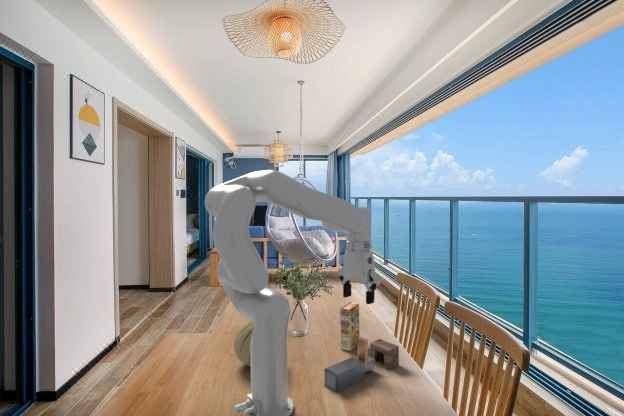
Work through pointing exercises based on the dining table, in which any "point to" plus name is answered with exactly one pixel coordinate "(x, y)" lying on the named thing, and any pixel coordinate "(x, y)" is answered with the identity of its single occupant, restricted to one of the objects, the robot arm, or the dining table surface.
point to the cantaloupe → (244, 343)
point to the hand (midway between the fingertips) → (358, 299)
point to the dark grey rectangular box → (344, 374)
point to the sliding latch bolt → (365, 354)
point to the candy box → (349, 325)
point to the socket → (384, 353)
